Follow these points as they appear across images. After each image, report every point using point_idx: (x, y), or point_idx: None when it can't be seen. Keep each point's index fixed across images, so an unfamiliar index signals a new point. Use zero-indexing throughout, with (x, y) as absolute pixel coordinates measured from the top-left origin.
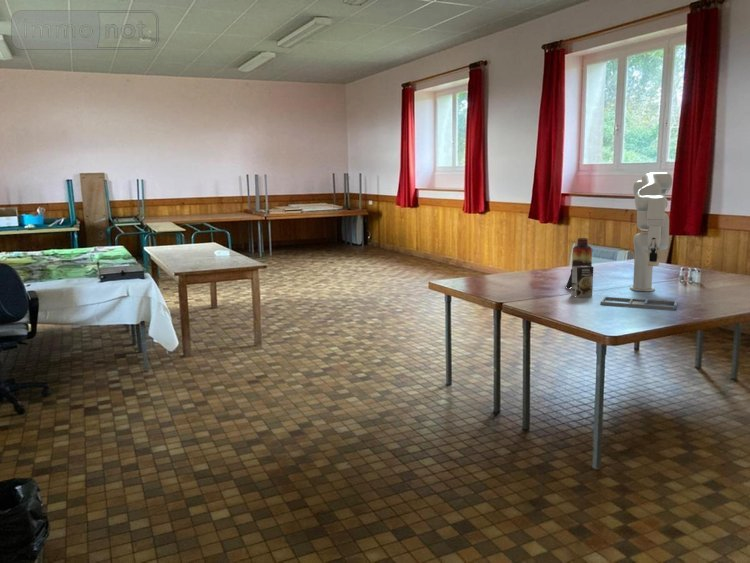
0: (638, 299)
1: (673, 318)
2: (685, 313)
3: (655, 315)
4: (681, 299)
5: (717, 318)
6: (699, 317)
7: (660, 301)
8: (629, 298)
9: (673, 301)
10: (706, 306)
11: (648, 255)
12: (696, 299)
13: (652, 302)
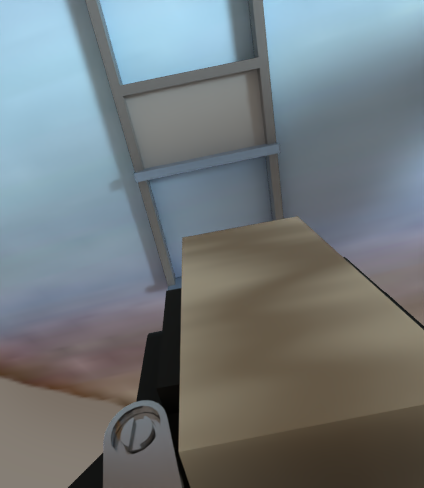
0: (262, 101)
1: (21, 315)
2: (136, 323)
3: (20, 253)
4: (400, 248)
5: (125, 403)
6: (102, 368)
7: (273, 206)
8: (263, 44)
9: None
10: None
11: (181, 323)
12: (416, 291)
13: (267, 171)
